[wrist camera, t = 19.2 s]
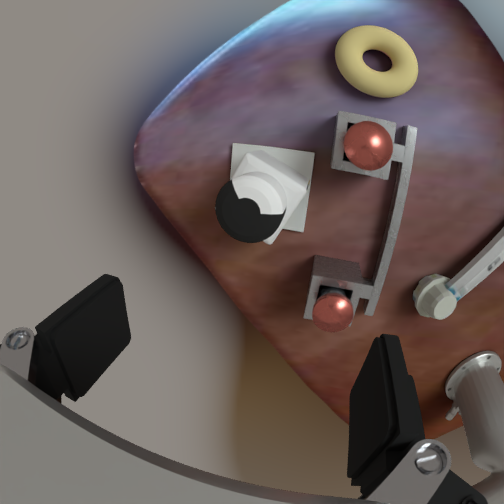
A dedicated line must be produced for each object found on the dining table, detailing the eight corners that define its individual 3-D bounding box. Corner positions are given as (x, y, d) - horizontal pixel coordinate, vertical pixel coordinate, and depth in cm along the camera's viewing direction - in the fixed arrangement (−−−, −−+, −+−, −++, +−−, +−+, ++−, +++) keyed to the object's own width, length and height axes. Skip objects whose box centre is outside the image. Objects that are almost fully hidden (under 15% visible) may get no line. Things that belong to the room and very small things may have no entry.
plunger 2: (374, 166, 31) (388, 175, 24) (336, 159, 32) (340, 165, 25) (379, 129, 29) (395, 127, 22) (341, 121, 30) (347, 116, 23)
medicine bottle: (280, 226, 37) (260, 266, 26) (232, 196, 37) (193, 223, 26) (310, 180, 34) (304, 200, 23) (260, 148, 34) (230, 154, 23)
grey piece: (550, 224, 23) (436, 339, 30) (524, 214, 30) (419, 315, 37) (542, 193, 23) (421, 313, 30) (514, 187, 29) (404, 290, 36)
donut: (398, 107, 30) (414, 46, 25) (412, 111, 26) (429, 42, 21) (325, 81, 30) (340, 17, 25) (331, 81, 26) (348, 8, 21)
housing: (370, 308, 39) (375, 333, 33) (306, 296, 40) (302, 321, 35) (412, 128, 29) (428, 127, 23) (336, 111, 30) (339, 106, 25)
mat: (303, 230, 37) (303, 232, 36) (228, 218, 39) (227, 219, 38) (314, 152, 33) (314, 153, 32) (234, 143, 35) (232, 143, 34)
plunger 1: (344, 299, 38) (347, 334, 31) (312, 293, 39) (308, 328, 32) (353, 269, 36) (358, 301, 29) (318, 263, 37) (316, 294, 30)
